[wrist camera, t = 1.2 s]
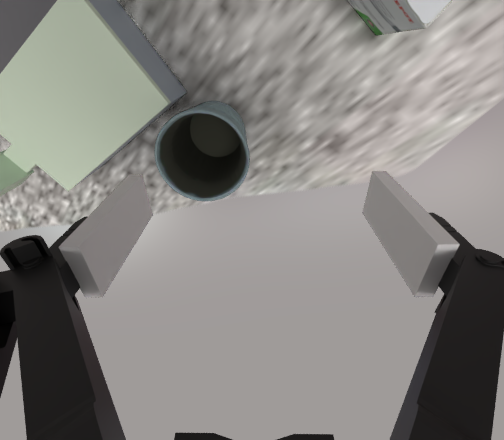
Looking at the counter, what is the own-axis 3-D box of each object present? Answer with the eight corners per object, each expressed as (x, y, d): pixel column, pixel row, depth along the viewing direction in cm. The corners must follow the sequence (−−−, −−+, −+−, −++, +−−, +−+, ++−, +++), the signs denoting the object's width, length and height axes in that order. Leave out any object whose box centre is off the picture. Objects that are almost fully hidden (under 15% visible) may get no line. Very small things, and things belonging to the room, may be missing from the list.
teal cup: (181, 160, 41) (157, 196, 31) (180, 87, 36) (149, 103, 26) (247, 167, 42) (244, 206, 32) (255, 97, 37) (254, 117, 26)
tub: (30, 97, 37) (-21, 108, 30) (115, -2, 31) (76, -15, 24) (102, 165, 42) (72, 188, 35) (187, 92, 36) (171, 102, 30)
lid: (-36, 133, 32) (-97, 151, 27) (80, -14, 25) (29, -31, 19) (53, 205, 38) (18, 232, 32) (172, 101, 30) (153, 113, 24)
